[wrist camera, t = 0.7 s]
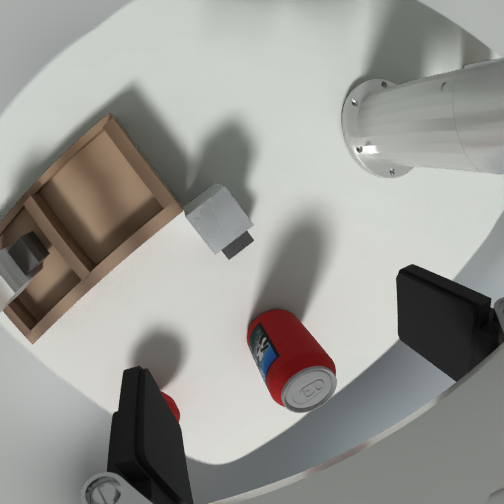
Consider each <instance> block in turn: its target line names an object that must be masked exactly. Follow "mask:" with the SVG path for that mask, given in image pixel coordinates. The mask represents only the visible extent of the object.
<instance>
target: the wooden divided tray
mask: <svg viewBox="0 0 504 504" xmlns="http://www.w3.org/2000/svg"><path fill="white" fill-rule="evenodd" d="M183 210H184V208H183V206H182V205H181V204H180V202H179V201H178V200H177V198H176V197H175V196H174V194H173V193H172V192H171V191H170V189H169V188H168V187H167V185H166V184H165V183H164V181H163V180H162V179H161V178H160V176H159V175H158V174H157V172H156V171H155V170H154V168H153V167H152V166H151V164H150V163H149V162H148V160H147V159H146V158H145V156H144V155H143V154H142V152H141V151H140V150H139V148H138V147H137V146H136V144H135V143H134V142H133V140H132V139H131V138H130V136H129V135H128V134H127V132H126V131H125V130H124V128H123V127H122V126H121V124H120V123H119V122H118V120H117V119H116V117H115V116H114V115H113V114H111V113H109V114H108V115H107V116H105V117H104V118H103V119H102V120H100V121H99V122H98V123H97V124H96V125H94V126H93V127H92V128H91V129H90V130H89V131H88V132H86V133H85V134H84V135H83V136H82V137H81V138H80V139H78V140H77V141H76V142H75V143H74V144H73V145H72V146H71V147H70V148H69V149H68V150H67V151H66V152H64V153H63V154H62V155H61V156H60V157H59V158H58V159H57V160H56V161H55V162H54V163H53V164H52V165H51V166H50V167H49V168H48V169H47V170H46V171H45V172H44V173H43V174H42V175H41V177H40V178H39V179H38V180H37V181H36V182H35V183H34V184H33V185H32V186H31V187H30V188H29V189H28V191H27V192H26V193H25V194H24V195H23V196H22V197H21V198H20V200H19V201H18V202H17V203H16V204H15V205H14V207H13V208H12V209H11V210H10V211H9V213H8V214H7V215H6V216H5V218H4V219H3V220H2V221H1V223H0V312H1V311H2V310H3V312H4V313H5V314H6V315H7V317H8V318H9V319H10V320H11V321H12V322H13V324H14V325H15V326H16V327H17V328H18V329H19V330H20V331H21V333H22V334H23V335H24V336H25V337H26V338H27V339H28V340H29V341H30V342H31V343H32V344H34V343H35V342H36V341H37V340H38V339H39V338H40V337H41V336H42V335H43V334H44V333H45V332H46V331H47V330H48V329H49V328H50V327H51V326H52V325H53V324H54V323H55V322H56V321H57V320H58V319H59V318H60V317H61V316H62V315H63V314H64V313H65V312H66V311H68V310H69V309H70V308H71V307H72V306H73V305H74V304H75V303H76V302H77V301H78V300H79V299H80V298H81V297H83V296H84V295H85V294H86V293H87V292H88V291H89V290H90V289H91V288H92V287H94V286H95V285H96V284H97V283H98V282H99V281H100V280H101V279H102V278H104V277H105V276H106V275H107V274H108V273H109V272H110V271H112V270H113V269H114V268H115V267H116V266H117V265H118V264H120V263H121V262H122V261H123V260H124V259H125V258H127V257H128V256H129V255H130V254H131V253H132V252H134V251H135V250H136V249H137V248H138V247H139V246H141V245H142V244H143V243H144V242H145V241H147V240H148V239H149V238H150V237H152V236H153V235H154V234H155V233H156V232H158V231H159V230H160V229H161V228H163V227H164V226H165V225H166V224H168V223H169V222H170V221H171V220H173V219H174V218H175V217H176V216H178V215H179V214H180V213H181V212H183Z"/></svg>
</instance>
